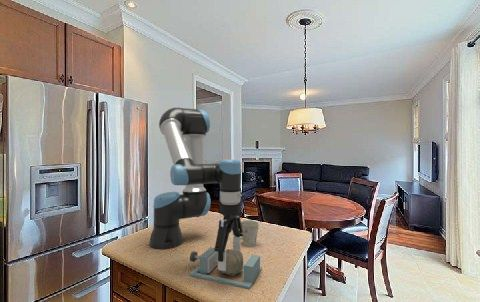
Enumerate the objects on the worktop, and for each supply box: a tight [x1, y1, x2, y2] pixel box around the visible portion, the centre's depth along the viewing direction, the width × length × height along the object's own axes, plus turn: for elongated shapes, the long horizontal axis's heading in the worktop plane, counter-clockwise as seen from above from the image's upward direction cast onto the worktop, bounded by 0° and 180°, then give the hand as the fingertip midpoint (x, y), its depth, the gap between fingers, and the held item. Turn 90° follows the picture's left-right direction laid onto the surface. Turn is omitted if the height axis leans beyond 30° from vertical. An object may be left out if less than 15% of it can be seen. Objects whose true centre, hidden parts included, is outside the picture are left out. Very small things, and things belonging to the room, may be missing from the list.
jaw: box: [189, 246, 218, 275], centre depth 92 cm, size 9×9×6 cm
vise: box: [189, 254, 263, 290], centre depth 89 cm, size 22×14×6 cm, turn 69°
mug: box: [232, 220, 260, 247], centre depth 116 cm, size 8×13×10 cm, turn 78°
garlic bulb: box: [216, 248, 244, 277], centre depth 88 cm, size 9×8×10 cm
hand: (229, 261), depth 88 cm, fingers open, 13 cm apart
